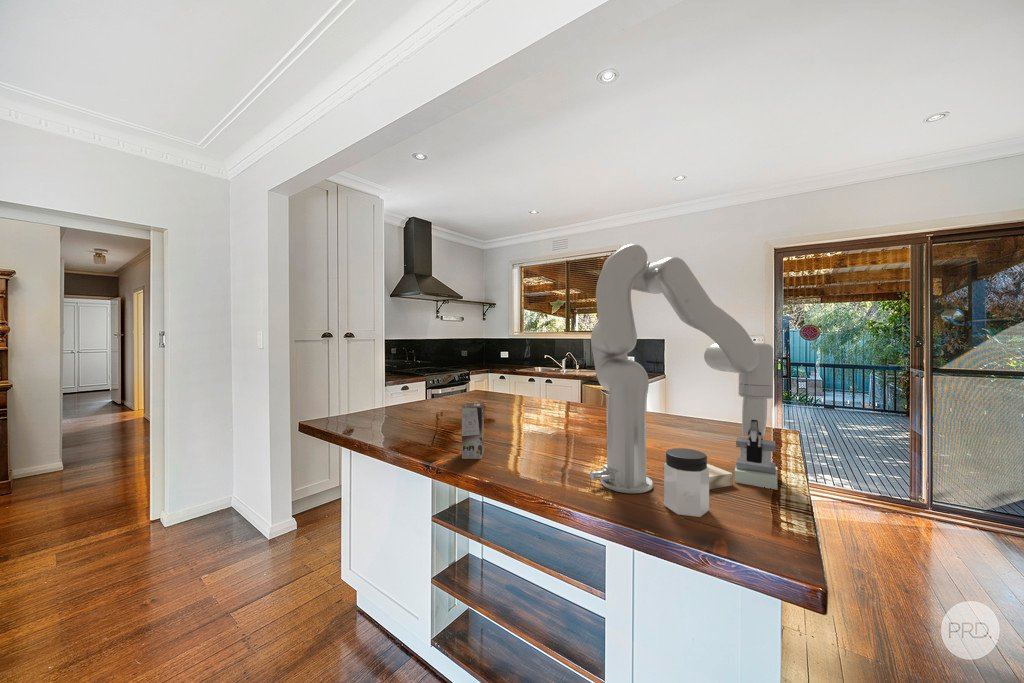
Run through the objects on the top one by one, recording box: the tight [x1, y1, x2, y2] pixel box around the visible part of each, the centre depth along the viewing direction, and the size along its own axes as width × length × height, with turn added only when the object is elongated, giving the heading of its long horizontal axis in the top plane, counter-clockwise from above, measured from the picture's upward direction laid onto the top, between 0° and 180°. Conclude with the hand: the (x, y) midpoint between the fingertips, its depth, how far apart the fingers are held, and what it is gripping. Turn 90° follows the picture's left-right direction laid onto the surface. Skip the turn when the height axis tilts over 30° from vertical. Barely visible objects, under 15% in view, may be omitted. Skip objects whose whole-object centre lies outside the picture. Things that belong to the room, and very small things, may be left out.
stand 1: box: [707, 463, 734, 490], centre depth 99 cm, size 9×9×3 cm
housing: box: [735, 436, 777, 475], centre depth 99 cm, size 8×5×7 cm, turn 56°
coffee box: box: [461, 402, 485, 460], centre depth 124 cm, size 9×6×16 cm
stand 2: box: [734, 466, 778, 490], centre depth 99 cm, size 9×9×3 cm
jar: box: [663, 447, 710, 518], centre depth 83 cm, size 9×8×12 cm
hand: (755, 457), depth 99 cm, fingers open, 9 cm apart
